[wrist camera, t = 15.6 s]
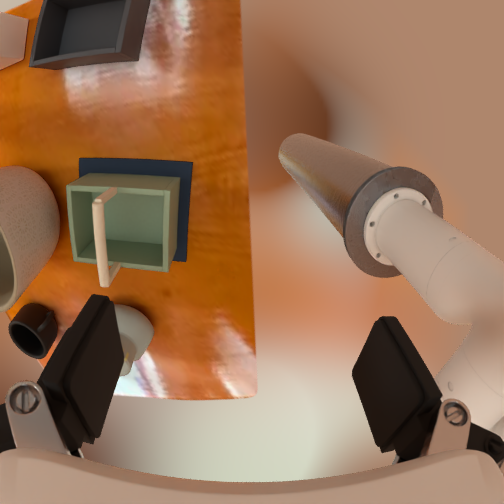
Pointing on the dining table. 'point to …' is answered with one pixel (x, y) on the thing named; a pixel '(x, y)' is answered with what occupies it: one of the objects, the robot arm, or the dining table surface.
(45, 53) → the box
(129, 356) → the air freshener
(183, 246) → the mat
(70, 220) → the box
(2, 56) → the milk carton
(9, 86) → the dining table surface
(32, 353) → the mug
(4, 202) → the planter
